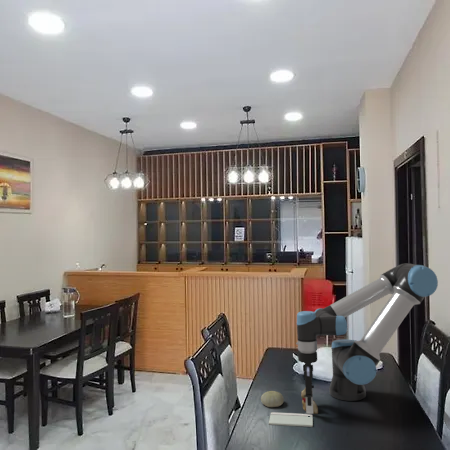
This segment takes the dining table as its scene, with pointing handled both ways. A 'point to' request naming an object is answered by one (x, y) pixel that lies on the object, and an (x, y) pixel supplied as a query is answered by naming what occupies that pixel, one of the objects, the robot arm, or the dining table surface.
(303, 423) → the mat
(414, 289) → the robot arm
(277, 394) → the sea urchin shell
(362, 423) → the dining table surface
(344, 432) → the dining table surface
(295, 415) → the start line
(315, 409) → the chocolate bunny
